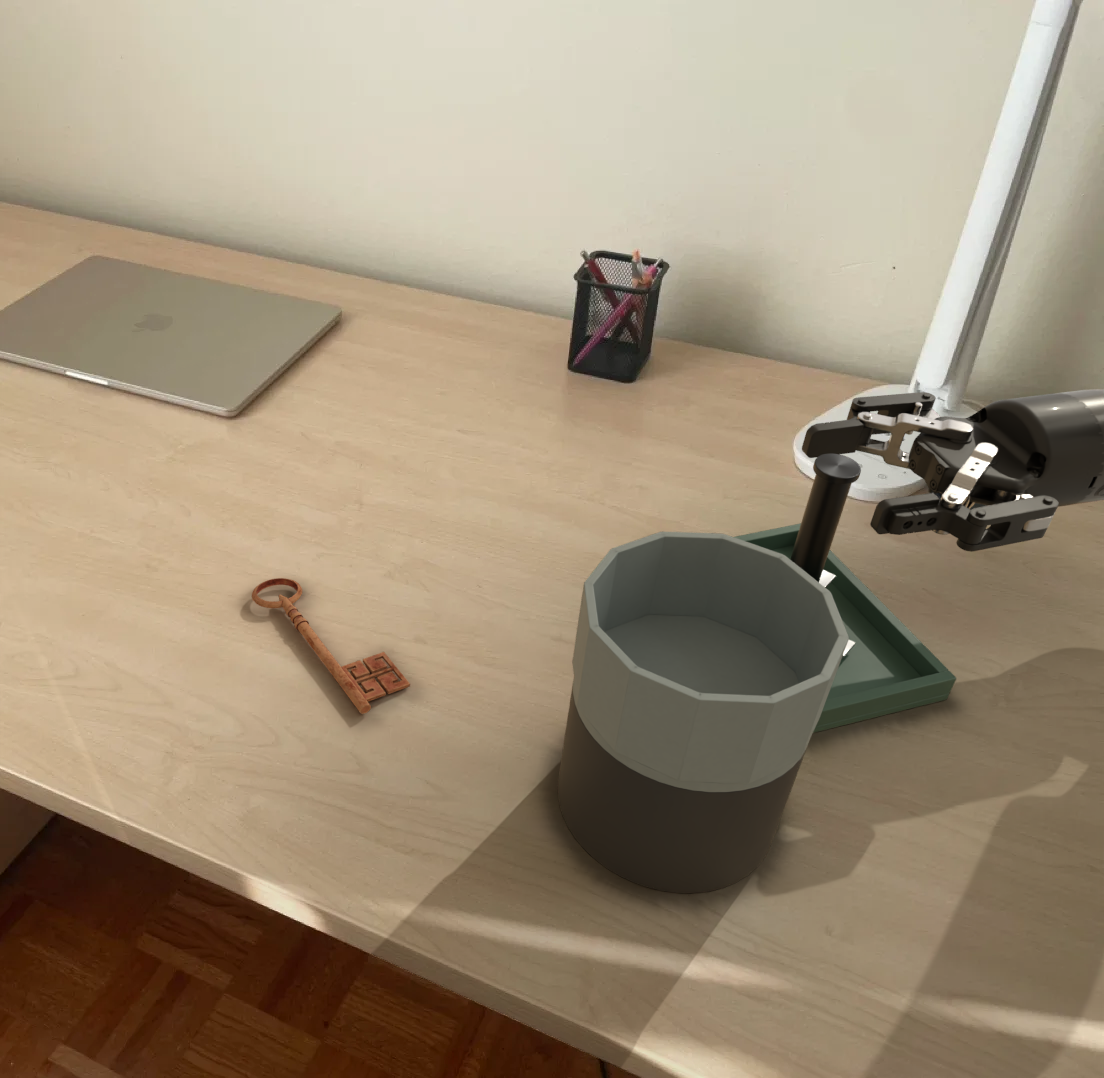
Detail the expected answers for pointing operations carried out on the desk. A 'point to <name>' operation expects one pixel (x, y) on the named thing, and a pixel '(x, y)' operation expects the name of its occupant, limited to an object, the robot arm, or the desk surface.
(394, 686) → the key
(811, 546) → the blade
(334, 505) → the desk surface
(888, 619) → the tray
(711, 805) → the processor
